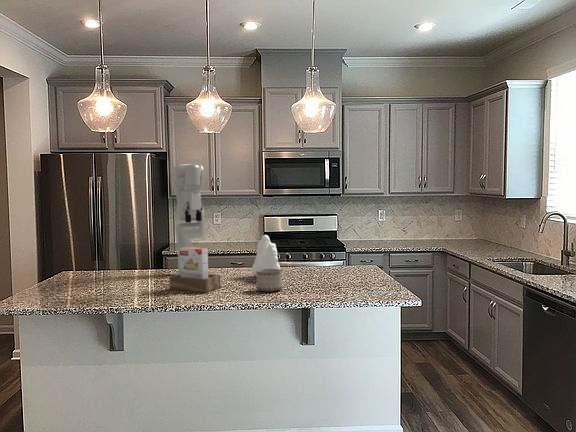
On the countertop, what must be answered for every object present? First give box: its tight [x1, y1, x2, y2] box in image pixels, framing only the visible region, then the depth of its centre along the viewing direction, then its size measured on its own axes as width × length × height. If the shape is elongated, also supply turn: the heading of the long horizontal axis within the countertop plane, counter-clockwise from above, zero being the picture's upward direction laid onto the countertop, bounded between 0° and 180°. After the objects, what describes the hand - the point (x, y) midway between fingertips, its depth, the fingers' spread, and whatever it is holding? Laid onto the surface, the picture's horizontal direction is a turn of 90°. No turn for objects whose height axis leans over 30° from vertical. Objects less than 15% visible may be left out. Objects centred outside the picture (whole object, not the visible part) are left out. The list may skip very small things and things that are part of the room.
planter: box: [256, 268, 282, 293], centre depth 263 cm, size 13×13×10 cm
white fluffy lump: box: [251, 234, 281, 277], centre depth 295 cm, size 25×16×25 cm, turn 10°
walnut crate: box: [169, 273, 221, 294], centre depth 269 cm, size 14×22×7 cm, turn 67°
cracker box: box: [180, 247, 209, 279], centre depth 268 cm, size 14×6×21 cm, turn 65°
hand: (193, 221), depth 267 cm, fingers open, 9 cm apart
